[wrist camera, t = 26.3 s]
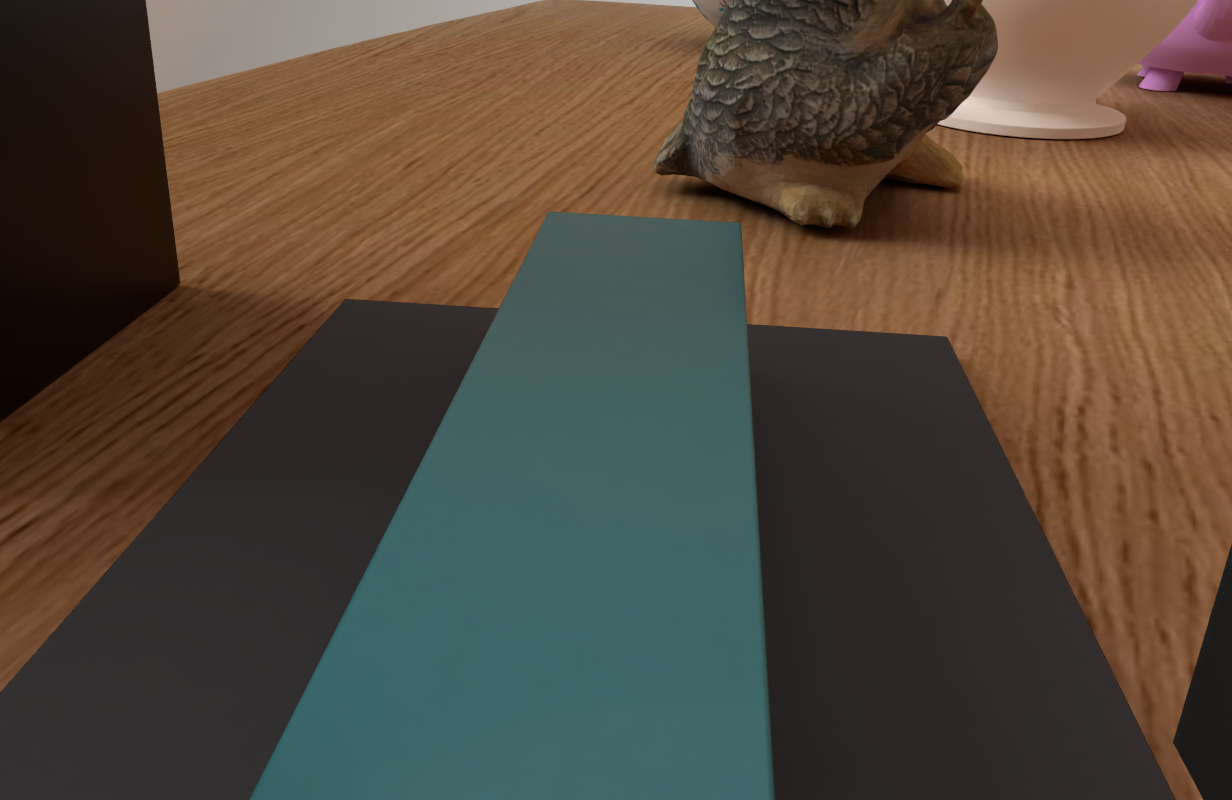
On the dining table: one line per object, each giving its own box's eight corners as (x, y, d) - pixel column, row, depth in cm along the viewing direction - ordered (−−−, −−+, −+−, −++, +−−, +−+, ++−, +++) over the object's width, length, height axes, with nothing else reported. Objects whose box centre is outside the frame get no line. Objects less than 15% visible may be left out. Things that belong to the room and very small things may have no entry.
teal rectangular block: (744, 1215, 12) (250, 1162, 12) (729, 366, 32) (545, 354, 32) (784, 922, 10) (210, 869, 10) (741, 222, 30) (547, 210, 30)
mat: (-390, 1191, 12) (-409, 1153, 12) (345, 316, 36) (344, 298, 35) (1434, 1394, 11) (1455, 1358, 11) (944, 354, 35) (947, 335, 34)
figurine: (1063, 253, 45) (1153, -186, 38) (686, 252, 43) (715, -208, 37) (933, 166, 57) (984, -174, 51) (638, 163, 56) (654, -190, 49)
